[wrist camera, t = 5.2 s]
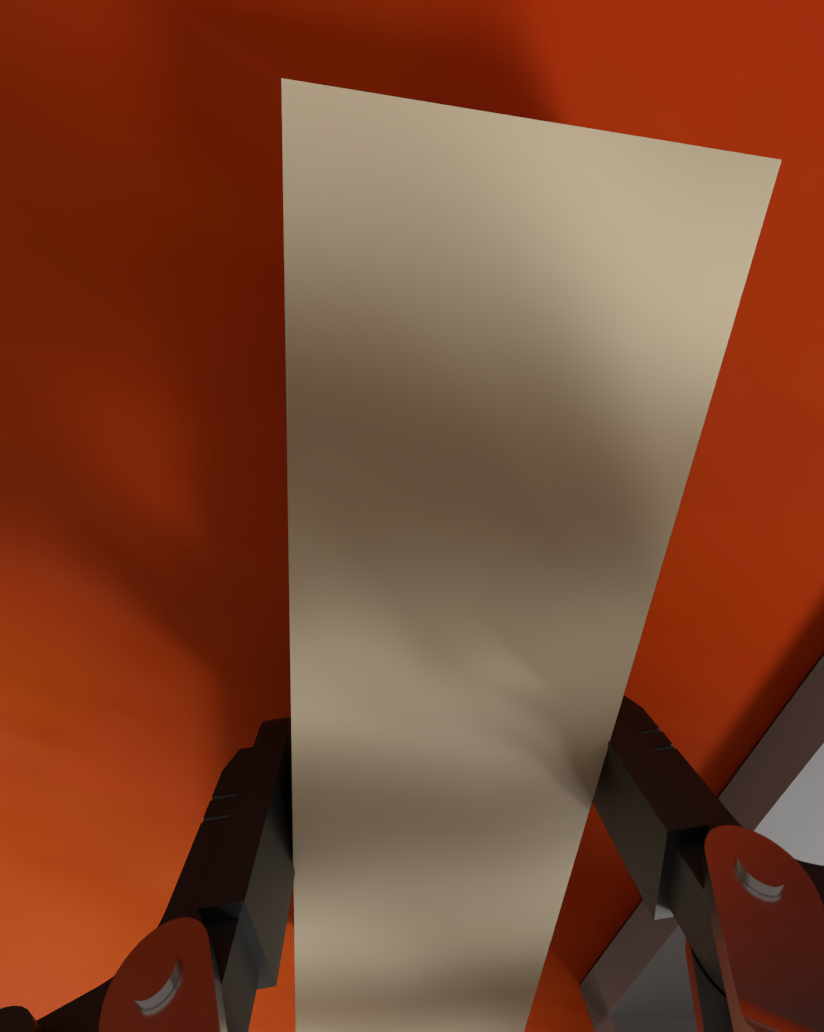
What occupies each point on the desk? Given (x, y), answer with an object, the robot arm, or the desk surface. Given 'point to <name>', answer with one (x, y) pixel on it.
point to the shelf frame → (756, 806)
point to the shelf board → (476, 517)
